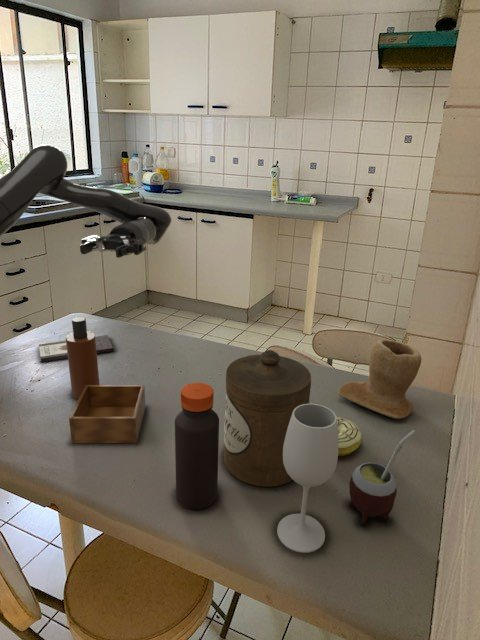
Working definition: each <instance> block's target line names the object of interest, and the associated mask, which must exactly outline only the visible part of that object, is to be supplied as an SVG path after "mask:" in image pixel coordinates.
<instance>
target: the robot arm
mask: <svg viewBox="0 0 480 640" xmlns="http://www.w3.org/2000/svg"><path fill="white" fill-rule="evenodd" d="M67 170H68V160H67V157H66V155H65V153H64V152H63V151H62V150H61V149H60V148H58V147H56V146H54V145H51V144H40V145H37V146H35V147H33V148H32V149H31V150H29V152H28V153H27V155H26V156H24V157H23V159H21V161H20V162H19V163H18V164H17V165H16V166H15V167H14V168H13V169H11V170H10V171H9V172H8V173H6V174H5V175H3V176H2V177H0V238H1V237H3V236H4V235H5V234H6V233H7V232H8V231H9V230H10V229H11V228H12V227H13V226H15V225H16V223H17V222H18V221H19V220H20V219H21V217H22V216H23V215H24V213H25V212H26V211H27V209H28V208H29V206H30V205H31V204H32V202H33V201H34V199H35V198H36V197H37V195H38V194H41V195H44V196H47V197H51V198H54V199H57V200H61V201H64V202H67V203H70V204H73V205H76V206H80V207H82V208H85V209H88V210H91V211H94V212H96V213H100V214H101V215H103V216H106V217H108V218H110V219H112V220H114V221H115V222H118V223H120V224H118V225H115V226H114V227H113V228H112V229H111V230H110V232H109V234H108V233H107V234H106V235H101V236H98V234H92V235H90V236H87V237H83V238H81V244H80V245H79V251H80V254H81V255H87V254H89V253H92V252H99V253H104V252H115V257H116V258H118V259H121V258H123V257H124V256H130V255H132V254H133V255H135V256H138V255H140V254H142V253H144V252H145V251H146V250H147V245H157V244H158V243H159V242H161V239H162V238H163V236H164V235H165V233H166V232H167V230H168V229H169V228H170V225H171V223H172V217H171V215H170V213H169V211H167V210H166V209H164V208H162V207H159V206H155V205H149V204H146V203H141V202H138V201H135V200H133V199H130V198H128V197H127V196H124V194H121V193H119V192H117V191H114V190H111V189H108V188H103V187H94V186H93V187H92V186H85V185H80V184H78V183H75V182H72V181H70V180H68V179H66V178H65V176H66V173H67Z"/></svg>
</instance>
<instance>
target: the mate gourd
mask: <svg viewBox="0 0 480 640" xmlns="http://www.w3.org/2000/svg"><path fill="white" fill-rule="evenodd" d="M416 432H417V431H416V430H415V429H412V430H411V431H410V432H408V434H407V435H405V436H404V437H403V438H402V439H401V440H400V441H399V442H398V443H397V444H396V445H395V447H394V451H393V453H392V455H391V456H390V459H389V461H388V463H387V465H386V466H384V465H382V464H380V463H377V462H363V463H362V464H360V465H358V466H357V467H356V468H355V469H354V471H353V472H352V476H350V479H349V483H348V484H349V485H348V487H349V496H350V501H349V503H348V507H349V508H351V509H354V510H356V511H357V512H360V513H361V514H362V515H361V516H362V517H361V520H360V521H359V525H360V526H362V527H365V526H366V525H367V523H368V520H369V518H370V517H371V518H374V519H376V520H379V521H381V522H383V523H386V524H387V523H388V522H389V517H388V516H389V515H390V514H391V512H392V510H393V508H394V505H395V500H396V497H397V490H398V489H397V482H396V479H395V478H396V477H395V476H394V475H393V473H392V472H391V470H390V469H391V468H392V466H393V463H394V462H395V459H396V458H397V456H398V454H399V453H400V452H401V450H402V449H403V447H402V446H403V445H404V444H405V443H406V442H407V441H408V440H409V439H410V438H411V437H412V436H413V435H414V434H415V433H416Z"/></svg>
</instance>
